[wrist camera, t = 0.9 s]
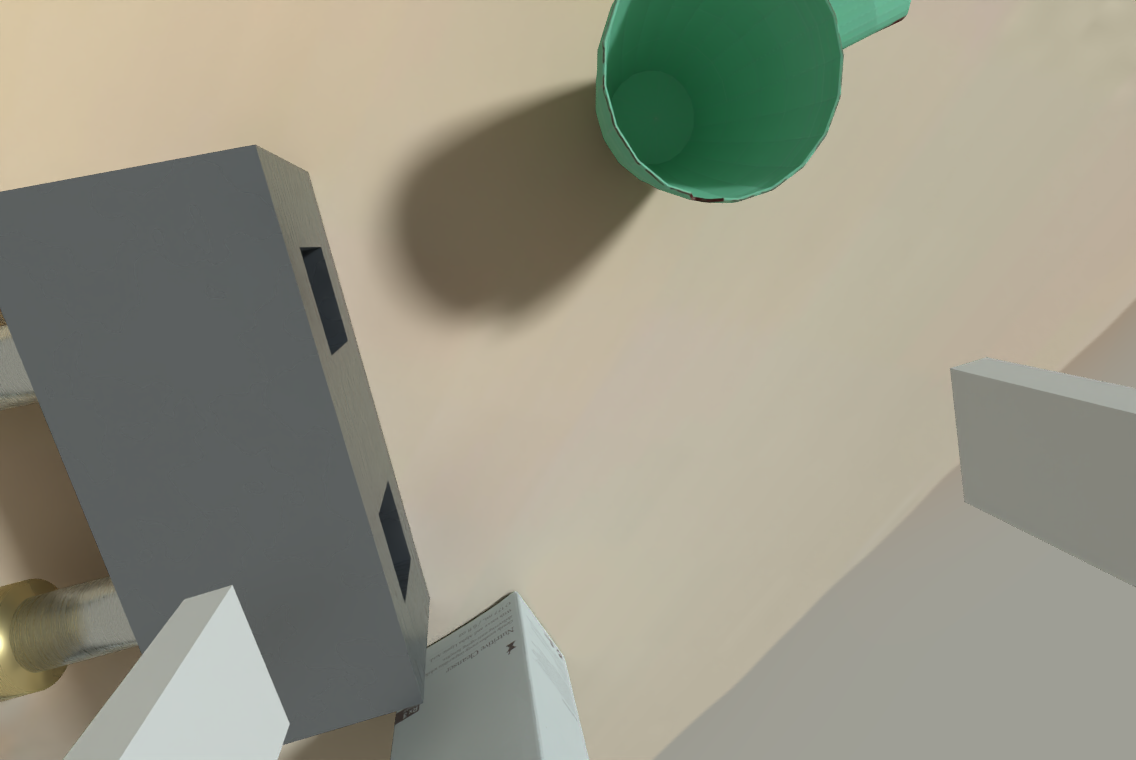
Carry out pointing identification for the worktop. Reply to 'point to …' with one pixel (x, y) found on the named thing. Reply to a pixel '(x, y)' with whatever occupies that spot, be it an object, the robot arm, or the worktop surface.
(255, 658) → the robot arm
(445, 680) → the skincare box
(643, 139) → the mug
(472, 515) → the worktop surface
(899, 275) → the worktop surface
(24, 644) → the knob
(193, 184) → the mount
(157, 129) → the worktop surface
